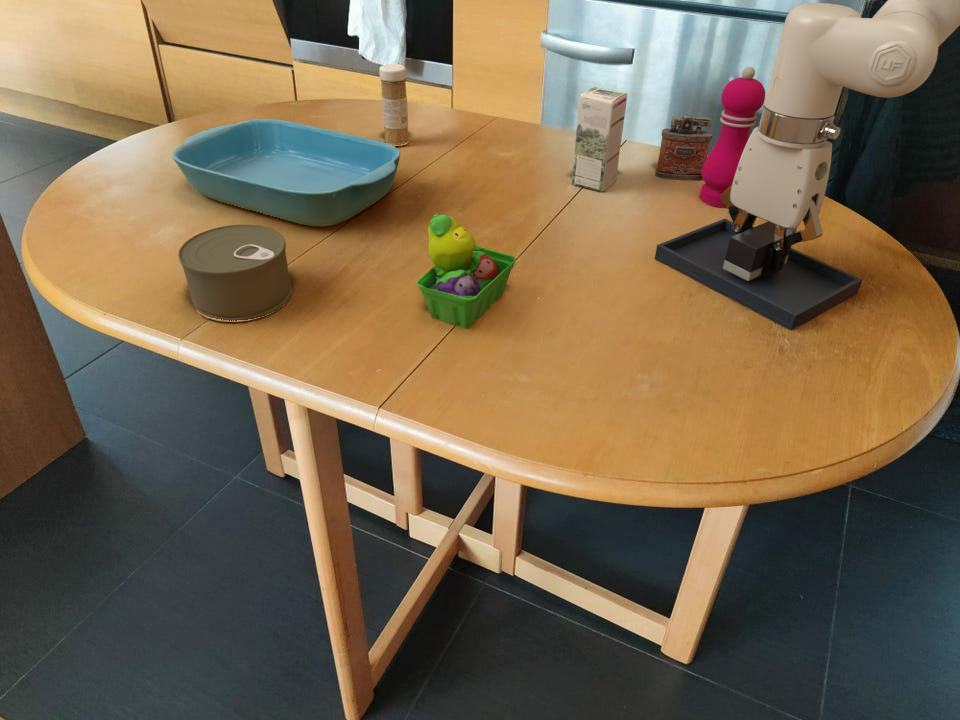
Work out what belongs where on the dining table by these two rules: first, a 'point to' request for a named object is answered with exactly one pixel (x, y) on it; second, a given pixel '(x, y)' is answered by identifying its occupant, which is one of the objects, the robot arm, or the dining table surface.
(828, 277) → the tray
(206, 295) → the can
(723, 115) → the pepper mill
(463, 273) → the fruit basket
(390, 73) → the sprinkles bottle
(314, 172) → the casserole dish
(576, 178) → the syrup box
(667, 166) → the lighter
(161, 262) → the dining table surface
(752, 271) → the eraser
